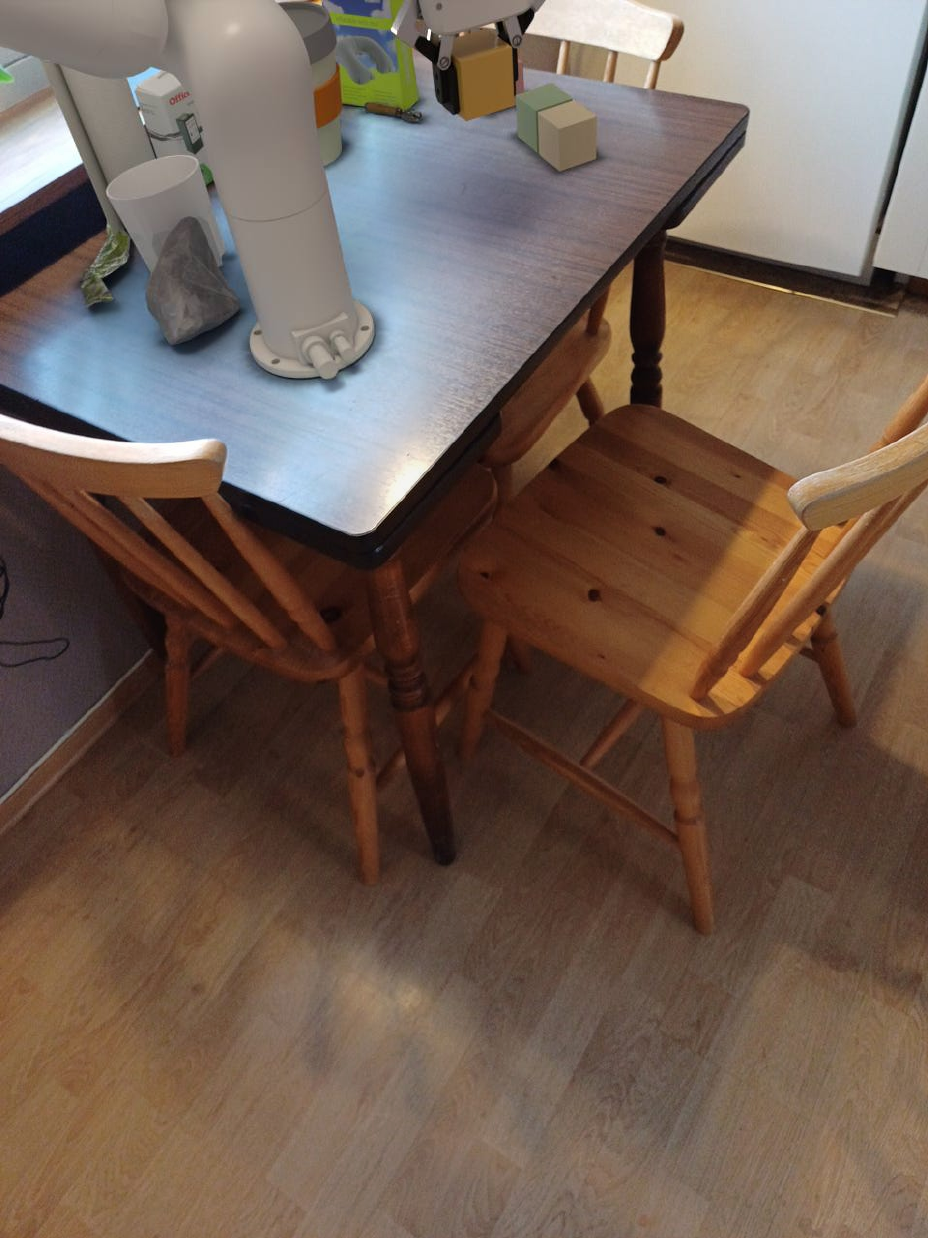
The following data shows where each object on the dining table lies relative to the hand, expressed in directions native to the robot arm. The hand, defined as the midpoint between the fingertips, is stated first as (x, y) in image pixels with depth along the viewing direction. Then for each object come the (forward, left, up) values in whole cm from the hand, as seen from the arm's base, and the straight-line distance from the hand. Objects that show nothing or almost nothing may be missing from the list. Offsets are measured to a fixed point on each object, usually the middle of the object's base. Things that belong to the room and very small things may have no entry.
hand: (477, 97), depth 87 cm
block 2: (+21, -18, -17) cm, 32 cm away
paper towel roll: (+31, +30, -17) cm, 46 cm away
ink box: (+39, +21, -17) cm, 47 cm away
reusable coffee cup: (+36, +8, -17) cm, 40 cm away
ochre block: (0, 0, 0) cm, 1 cm away
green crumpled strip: (+27, +34, -15) cm, 46 cm away
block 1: (+33, -18, -17) cm, 41 cm away
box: (+43, -5, -17) cm, 46 cm away
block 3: (+15, -18, -17) cm, 29 cm away
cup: (+19, +28, -17) cm, 38 cm away
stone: (+9, +26, -17) cm, 32 cm away
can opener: (+38, -5, -17) cm, 42 cm away
